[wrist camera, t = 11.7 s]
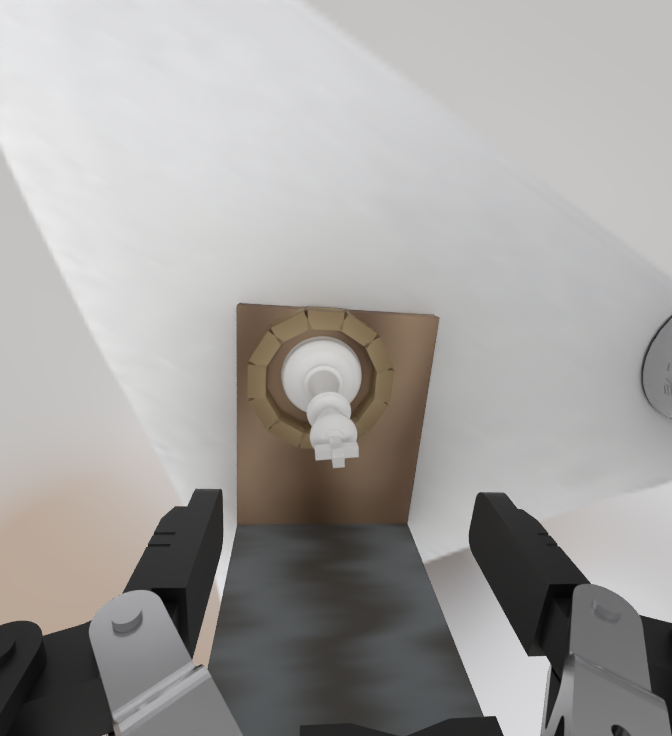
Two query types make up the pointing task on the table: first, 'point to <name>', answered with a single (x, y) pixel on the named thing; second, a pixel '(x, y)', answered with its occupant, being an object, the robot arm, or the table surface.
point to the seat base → (332, 542)
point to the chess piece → (325, 394)
